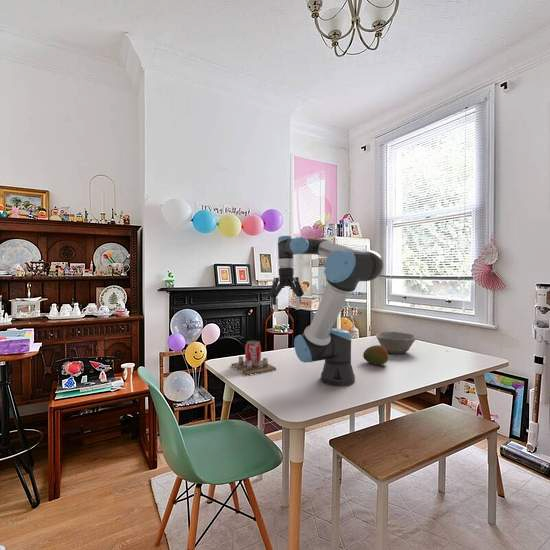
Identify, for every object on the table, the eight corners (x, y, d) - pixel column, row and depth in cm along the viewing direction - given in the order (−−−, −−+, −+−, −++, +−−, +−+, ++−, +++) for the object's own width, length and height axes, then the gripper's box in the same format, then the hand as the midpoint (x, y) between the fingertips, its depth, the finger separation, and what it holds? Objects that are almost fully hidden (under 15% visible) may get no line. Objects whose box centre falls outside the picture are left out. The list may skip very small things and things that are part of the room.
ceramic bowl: (367, 349, 201) (367, 333, 200) (396, 345, 210) (396, 330, 210) (395, 359, 181) (395, 341, 180) (424, 354, 190) (425, 337, 190)
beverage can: (264, 365, 166) (264, 341, 166) (253, 369, 160) (252, 344, 160) (253, 362, 172) (253, 339, 171) (242, 365, 166) (241, 342, 165)
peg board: (276, 370, 163) (275, 359, 163) (247, 375, 154) (247, 364, 154) (258, 361, 178) (258, 351, 178) (231, 366, 169) (231, 356, 169)
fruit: (388, 368, 164) (388, 349, 164) (362, 366, 168) (362, 347, 168) (388, 362, 175) (388, 343, 175) (363, 360, 179) (364, 342, 179)
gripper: (300, 267, 172) (301, 308, 172) (260, 267, 158) (261, 311, 158) (310, 267, 166) (311, 309, 166) (269, 267, 152) (270, 313, 152)
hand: (287, 310), depth 162 cm, fingers open, 13 cm apart
